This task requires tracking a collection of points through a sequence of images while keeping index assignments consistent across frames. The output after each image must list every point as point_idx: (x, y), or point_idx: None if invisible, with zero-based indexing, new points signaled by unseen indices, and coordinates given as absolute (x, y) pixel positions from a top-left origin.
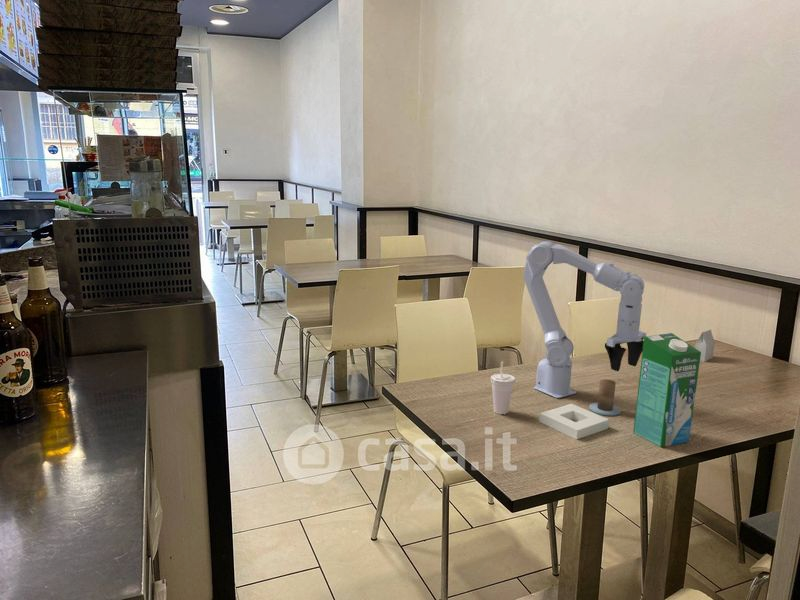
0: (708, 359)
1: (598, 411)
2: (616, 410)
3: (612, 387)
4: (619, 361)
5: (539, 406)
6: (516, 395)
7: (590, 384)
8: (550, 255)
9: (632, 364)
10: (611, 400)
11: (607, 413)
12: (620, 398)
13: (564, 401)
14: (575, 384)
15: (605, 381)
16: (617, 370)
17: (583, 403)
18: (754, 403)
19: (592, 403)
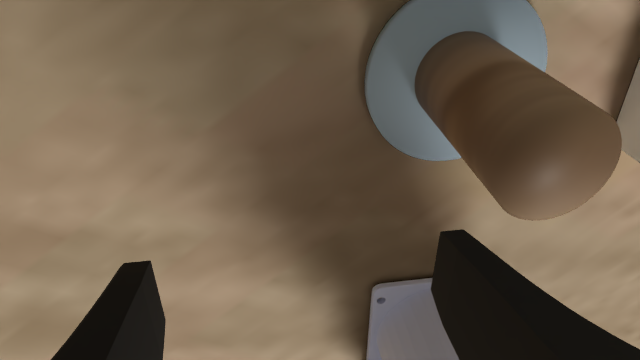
0: None
1: (535, 62)
2: (437, 16)
3: (572, 94)
4: (549, 298)
5: (635, 241)
6: None
7: (200, 337)
8: None
9: (155, 293)
10: (508, 55)
11: (526, 12)
12: (205, 154)
13: (502, 240)
14: (271, 355)
15: (557, 182)
16: (467, 234)
17: (454, 189)
18: None
19: (451, 157)
